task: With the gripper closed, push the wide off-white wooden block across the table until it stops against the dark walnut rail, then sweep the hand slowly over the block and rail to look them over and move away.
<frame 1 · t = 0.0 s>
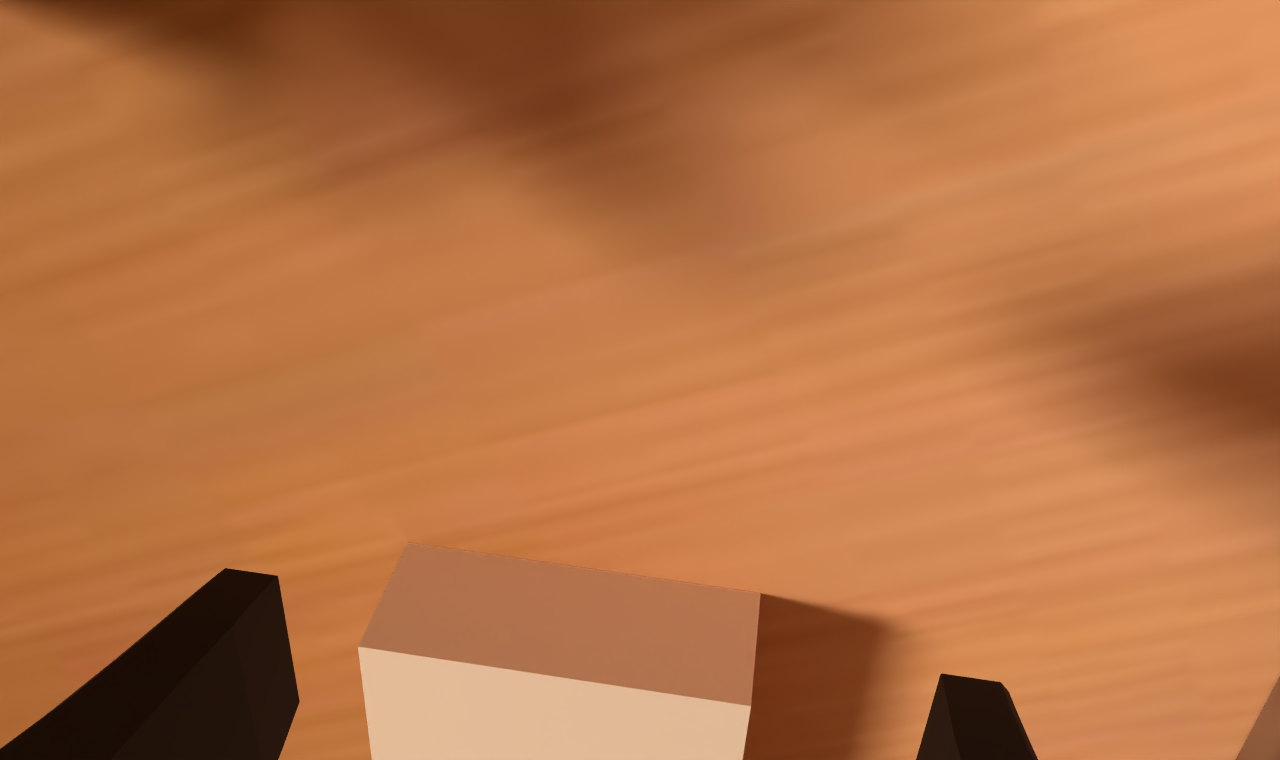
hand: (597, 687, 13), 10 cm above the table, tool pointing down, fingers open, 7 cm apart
wooden block: (580, 678, 28), on the table
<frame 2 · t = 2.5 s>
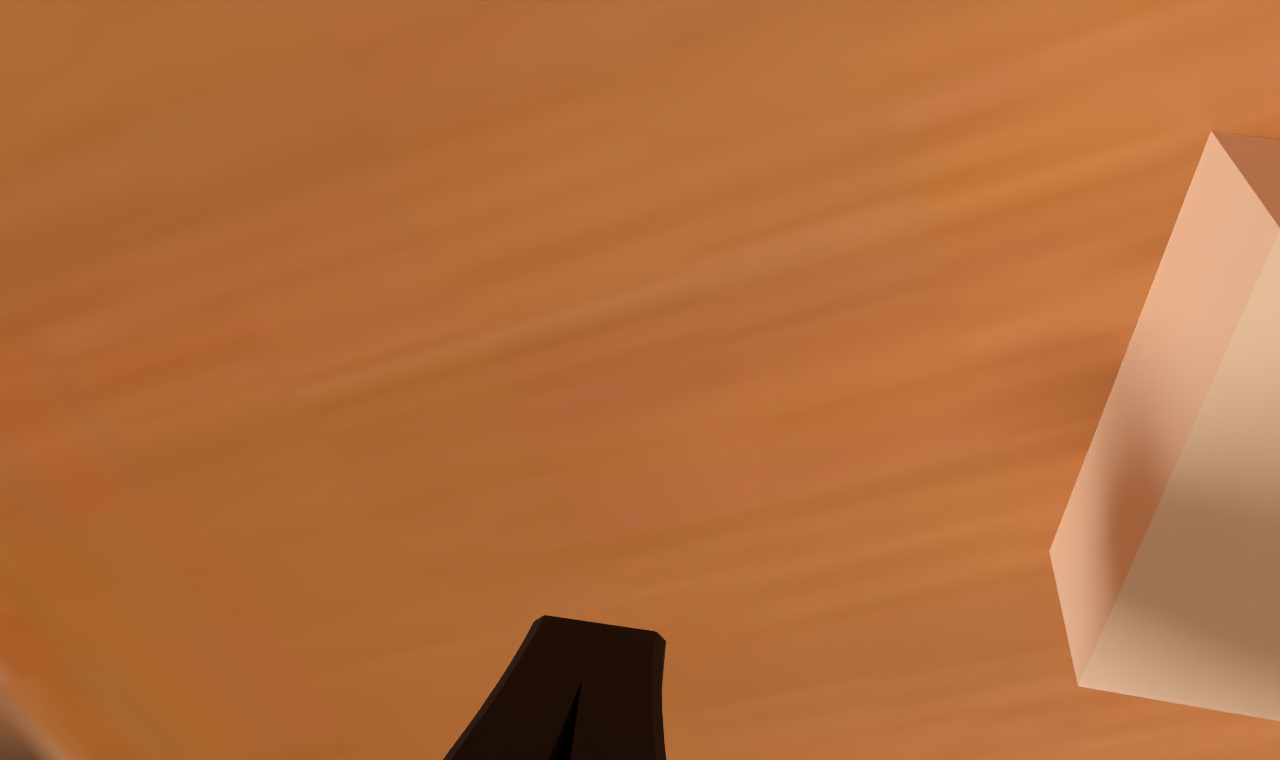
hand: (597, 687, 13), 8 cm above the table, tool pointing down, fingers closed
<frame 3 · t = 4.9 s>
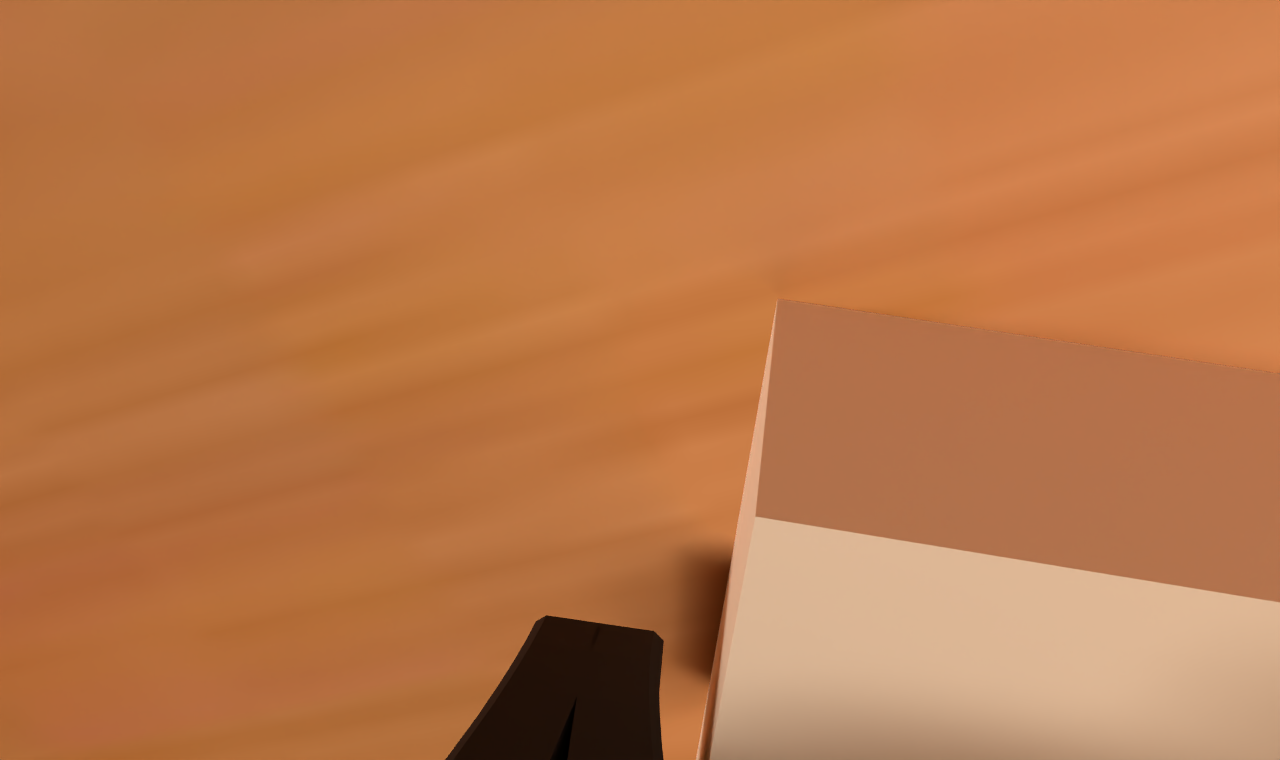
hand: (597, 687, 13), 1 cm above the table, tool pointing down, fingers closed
wooden block: (1069, 639, 13), on the table, touching gripper
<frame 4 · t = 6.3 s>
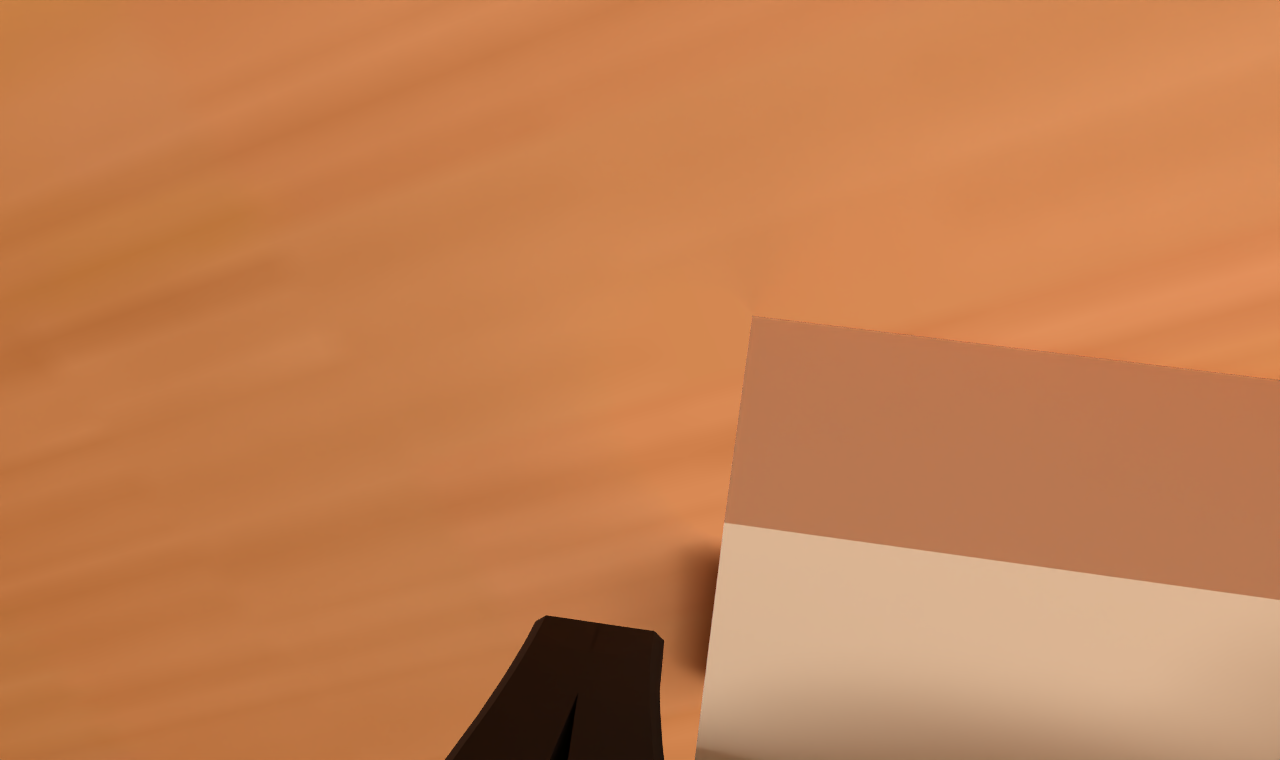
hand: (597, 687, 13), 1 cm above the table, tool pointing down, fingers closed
wooden block: (1056, 633, 14), on the table
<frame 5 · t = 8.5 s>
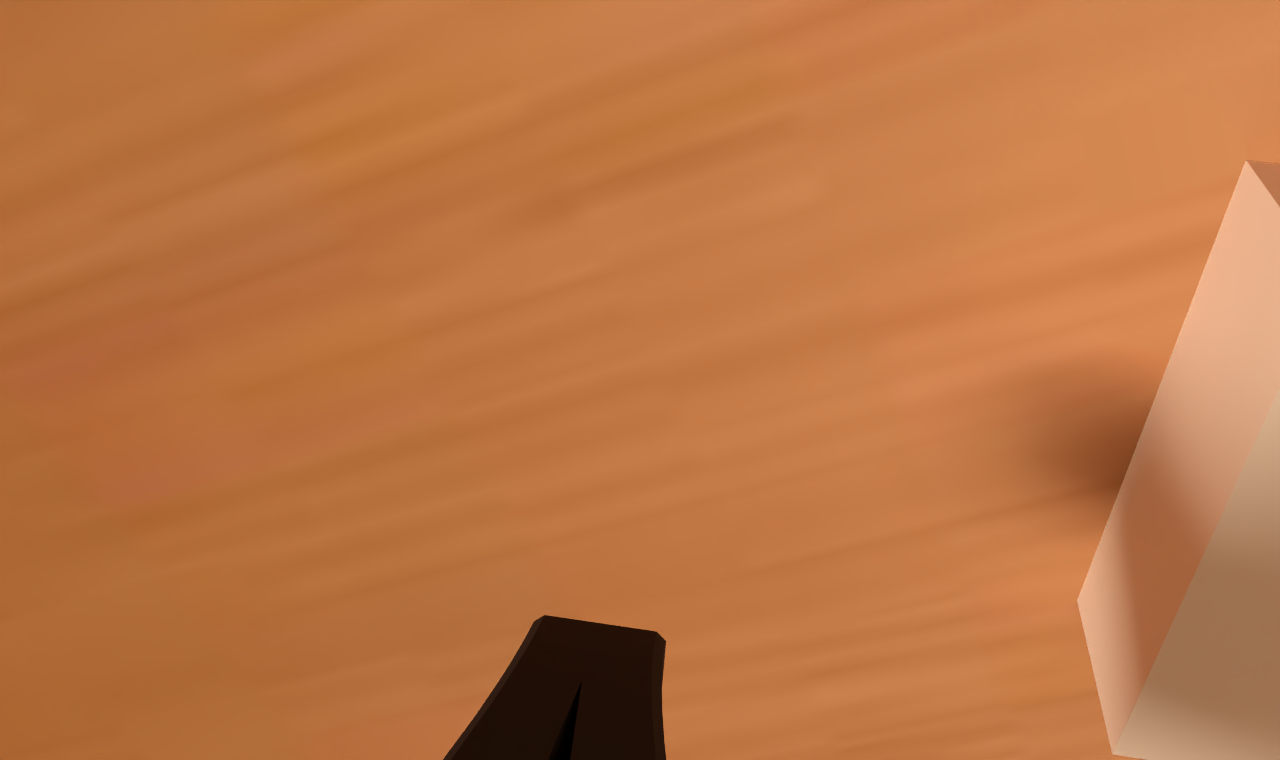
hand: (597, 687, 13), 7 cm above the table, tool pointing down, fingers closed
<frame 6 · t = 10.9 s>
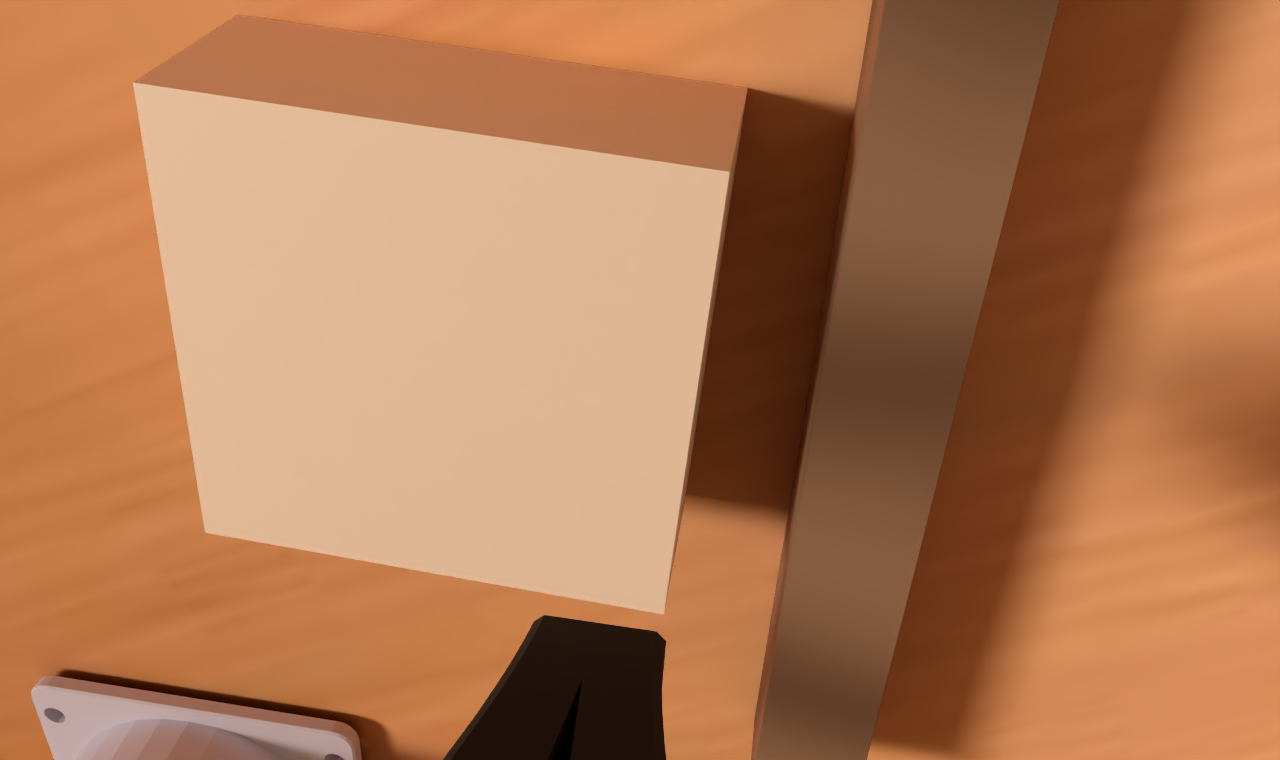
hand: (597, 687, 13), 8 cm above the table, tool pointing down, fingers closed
wooden block: (489, 269, 20), on the table
stop rail: (879, 331, 19), on the table
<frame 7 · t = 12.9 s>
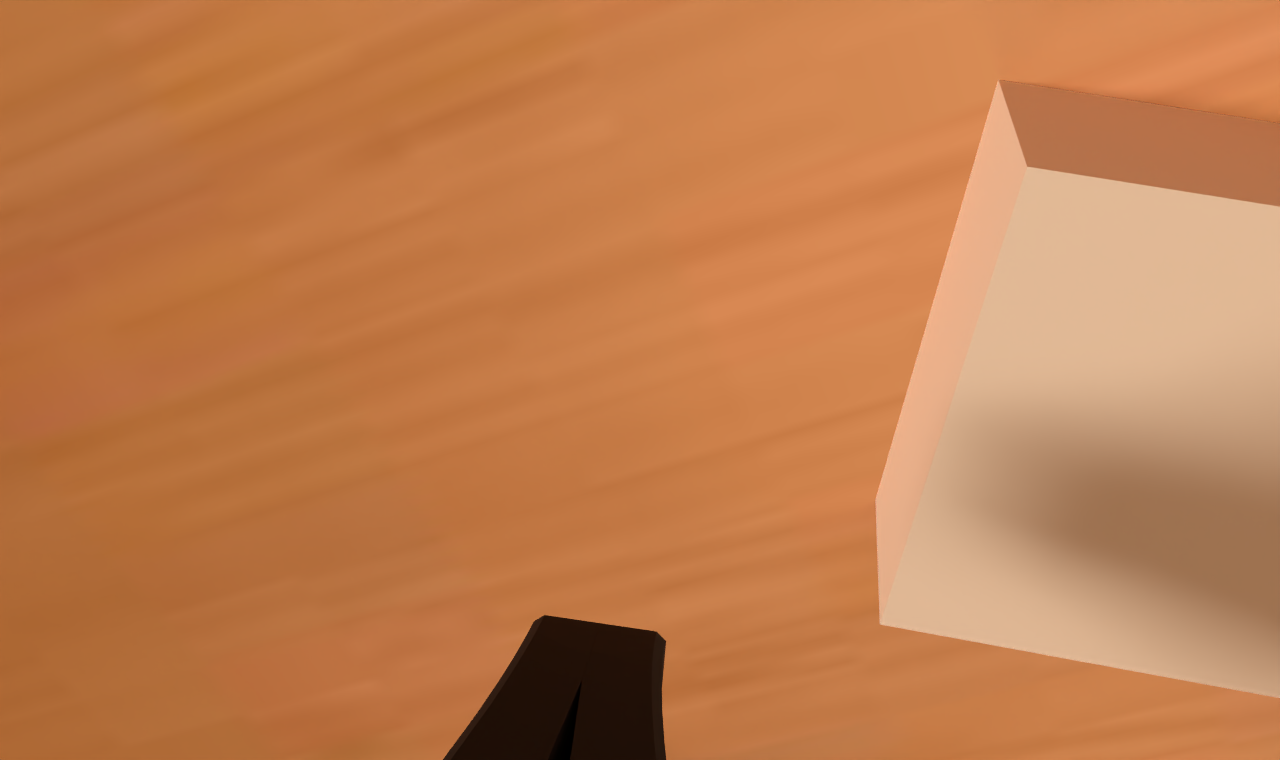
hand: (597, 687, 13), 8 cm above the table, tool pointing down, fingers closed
wooden block: (1171, 345, 19), on the table
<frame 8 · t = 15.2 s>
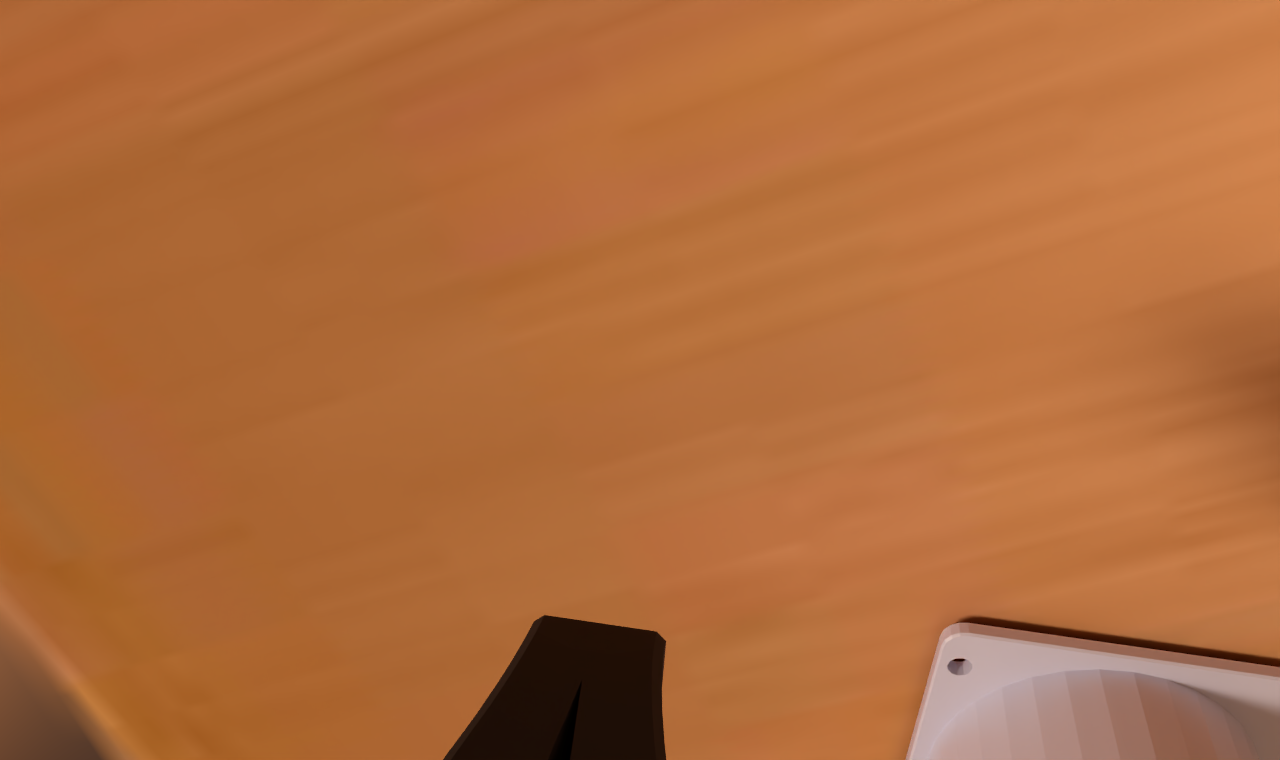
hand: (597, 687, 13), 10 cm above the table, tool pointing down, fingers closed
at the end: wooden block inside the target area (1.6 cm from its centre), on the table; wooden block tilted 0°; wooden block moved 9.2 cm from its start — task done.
